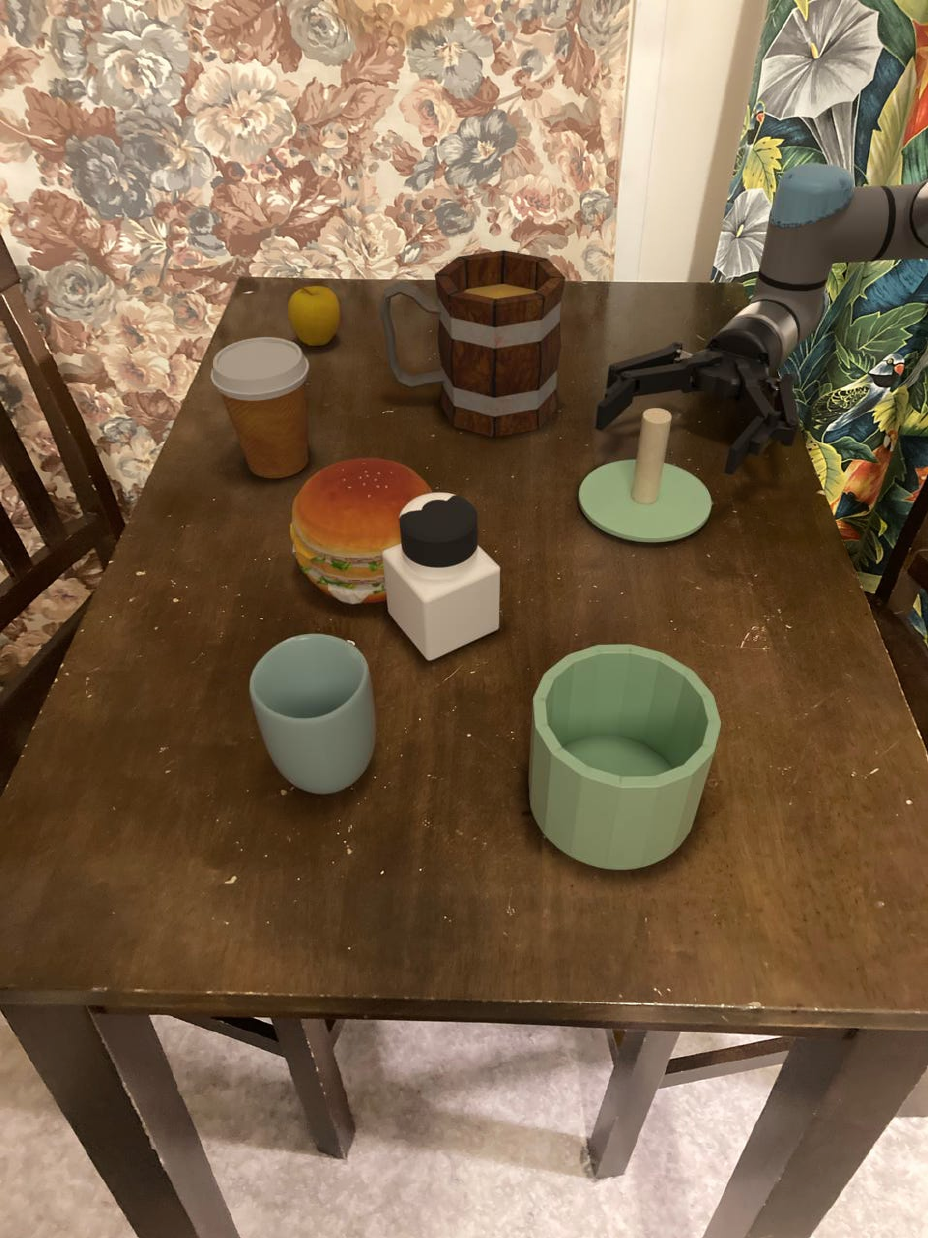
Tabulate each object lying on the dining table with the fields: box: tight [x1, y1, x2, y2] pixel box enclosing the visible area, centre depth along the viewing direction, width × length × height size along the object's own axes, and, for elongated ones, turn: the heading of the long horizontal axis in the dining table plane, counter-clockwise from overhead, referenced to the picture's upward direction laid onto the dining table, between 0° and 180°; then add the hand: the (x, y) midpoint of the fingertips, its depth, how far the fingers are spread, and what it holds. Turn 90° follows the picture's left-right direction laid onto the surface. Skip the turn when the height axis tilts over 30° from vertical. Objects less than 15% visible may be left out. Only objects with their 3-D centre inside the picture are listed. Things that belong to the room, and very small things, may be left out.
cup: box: [248, 633, 377, 795], centre depth 60 cm, size 8×8×10 cm
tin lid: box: [578, 407, 712, 543], centre depth 82 cm, size 13×13×10 cm
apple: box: [287, 285, 341, 347], centre depth 108 cm, size 6×6×8 cm
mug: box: [379, 249, 566, 438], centre depth 94 cm, size 20×14×15 cm
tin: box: [527, 643, 722, 871], centre depth 58 cm, size 12×12×10 cm
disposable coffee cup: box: [210, 336, 310, 479], centre depth 88 cm, size 10×10×12 cm
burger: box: [289, 457, 433, 605], centre depth 76 cm, size 14×14×10 cm
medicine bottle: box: [382, 492, 501, 662], centre depth 70 cm, size 7×7×12 cm
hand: (662, 439), depth 82 cm, fingers open, 13 cm apart
